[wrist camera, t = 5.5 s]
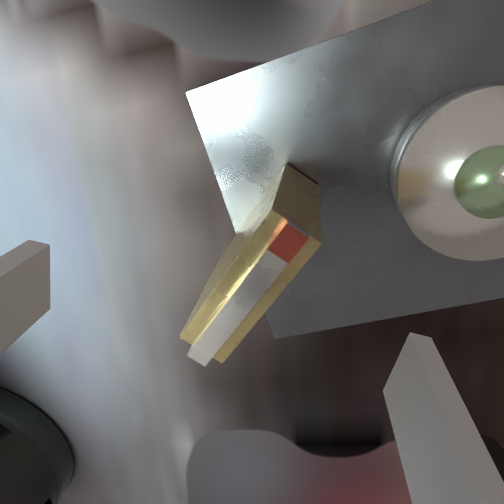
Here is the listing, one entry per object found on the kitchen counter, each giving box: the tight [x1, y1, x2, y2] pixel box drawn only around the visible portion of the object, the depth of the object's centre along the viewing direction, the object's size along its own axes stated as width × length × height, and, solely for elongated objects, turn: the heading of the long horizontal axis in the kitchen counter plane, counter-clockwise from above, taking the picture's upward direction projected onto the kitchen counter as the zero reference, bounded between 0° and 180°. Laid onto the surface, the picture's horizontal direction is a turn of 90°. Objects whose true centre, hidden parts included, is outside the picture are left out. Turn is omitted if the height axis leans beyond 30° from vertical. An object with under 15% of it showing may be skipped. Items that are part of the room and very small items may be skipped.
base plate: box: [186, 0, 504, 339], centre depth 19 cm, size 26×16×4 cm, turn 108°
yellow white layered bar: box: [179, 163, 322, 366], centre depth 19 cm, size 7×2×9 cm, turn 147°
